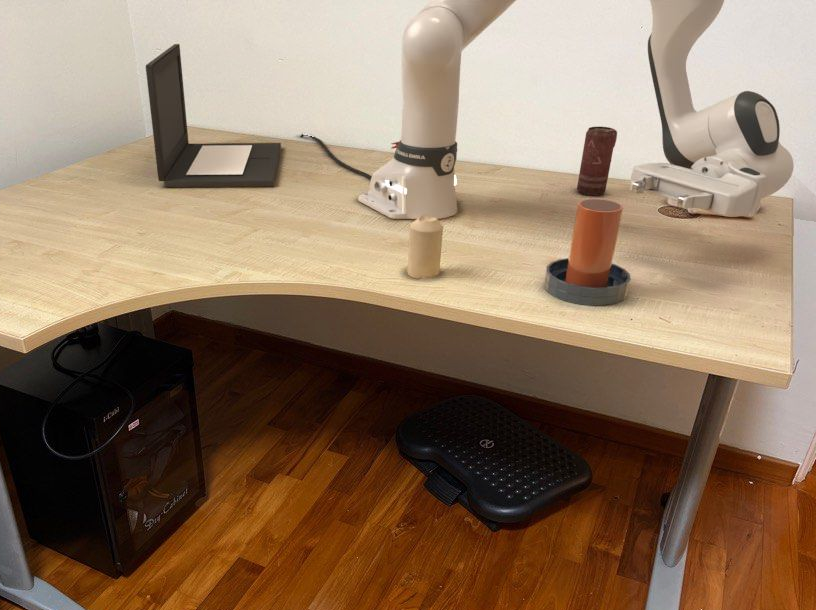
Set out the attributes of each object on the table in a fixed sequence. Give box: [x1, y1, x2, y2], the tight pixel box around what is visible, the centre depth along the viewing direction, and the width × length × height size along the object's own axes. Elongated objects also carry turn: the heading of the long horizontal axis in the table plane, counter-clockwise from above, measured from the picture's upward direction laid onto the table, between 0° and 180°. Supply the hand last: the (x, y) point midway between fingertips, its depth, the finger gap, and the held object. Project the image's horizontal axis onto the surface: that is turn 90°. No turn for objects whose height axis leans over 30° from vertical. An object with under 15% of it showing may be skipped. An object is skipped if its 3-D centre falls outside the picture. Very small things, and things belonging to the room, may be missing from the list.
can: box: [576, 126, 618, 197], centre depth 168 cm, size 6×6×14 cm
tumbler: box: [565, 198, 624, 288], centre depth 121 cm, size 7×7×14 cm
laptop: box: [145, 43, 282, 188], centre depth 187 cm, size 37×27×27 cm
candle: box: [406, 215, 444, 280], centre depth 129 cm, size 6×6×10 cm
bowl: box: [543, 257, 632, 307], centre depth 124 cm, size 13×13×3 cm
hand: (656, 195), depth 122 cm, fingers open, 8 cm apart
